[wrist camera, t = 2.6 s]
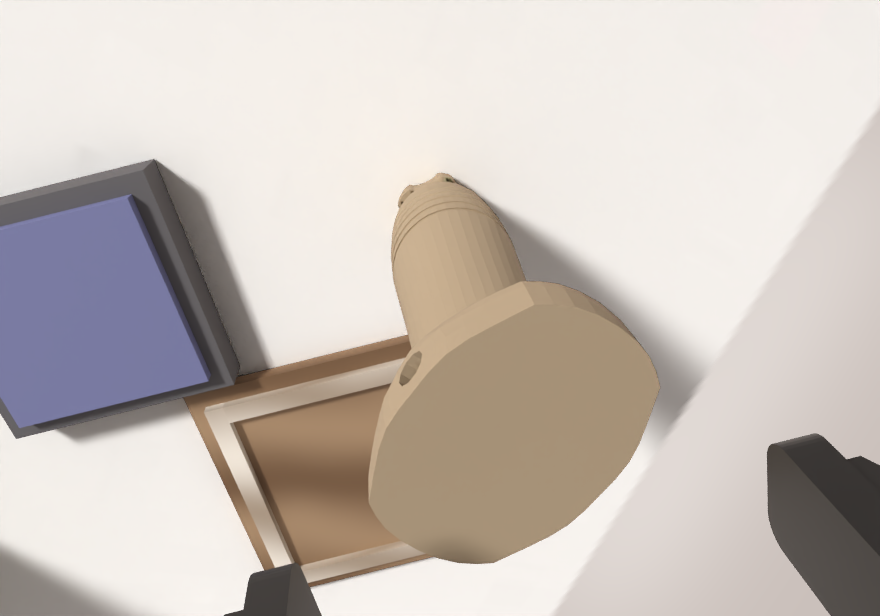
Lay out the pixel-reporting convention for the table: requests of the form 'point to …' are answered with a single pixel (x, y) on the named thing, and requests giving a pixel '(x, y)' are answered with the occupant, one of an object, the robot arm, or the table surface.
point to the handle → (496, 389)
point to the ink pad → (102, 303)
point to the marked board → (307, 459)
